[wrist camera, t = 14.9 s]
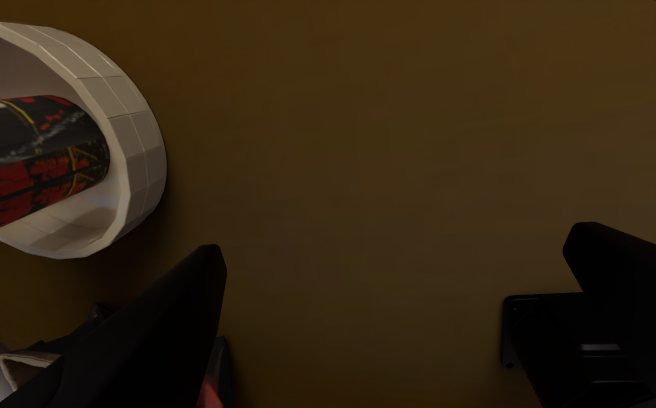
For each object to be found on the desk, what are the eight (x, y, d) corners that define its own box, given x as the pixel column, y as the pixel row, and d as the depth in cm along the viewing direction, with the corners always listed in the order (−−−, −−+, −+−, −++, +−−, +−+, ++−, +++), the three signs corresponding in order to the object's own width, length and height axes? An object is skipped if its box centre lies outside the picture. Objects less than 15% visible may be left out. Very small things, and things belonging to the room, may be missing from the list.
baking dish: (115, 379, 33) (36, 506, 25) (60, 262, 23) (-101, 407, 15) (248, 400, 34) (213, 531, 26) (249, 292, 24) (193, 451, 16)
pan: (195, 223, 21) (165, 250, 18) (40, 238, 24) (-11, 265, 21) (112, 1, 16) (49, -15, 13) (-75, 49, 19) (-166, 46, 16)
